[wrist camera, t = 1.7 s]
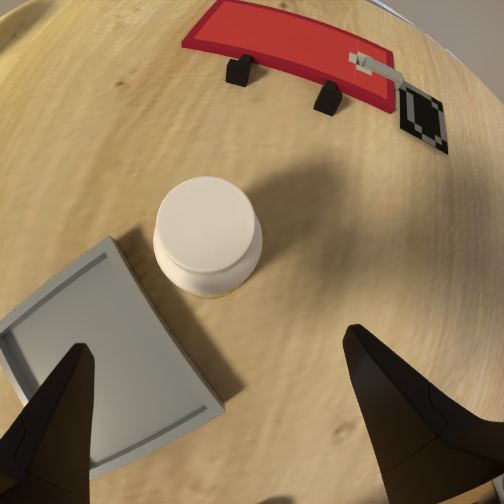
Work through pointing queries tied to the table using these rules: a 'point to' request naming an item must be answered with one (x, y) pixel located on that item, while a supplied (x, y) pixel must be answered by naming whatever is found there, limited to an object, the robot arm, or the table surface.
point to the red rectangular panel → (315, 61)
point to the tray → (109, 357)
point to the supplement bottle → (207, 237)
